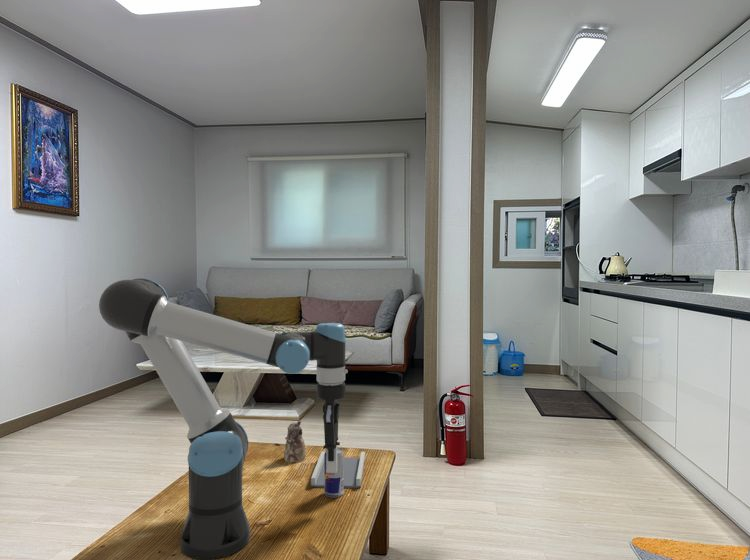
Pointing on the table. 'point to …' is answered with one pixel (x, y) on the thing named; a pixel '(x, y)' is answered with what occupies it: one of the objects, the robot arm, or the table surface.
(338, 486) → the energy drink
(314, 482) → the tray
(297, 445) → the figurine
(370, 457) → the table surface
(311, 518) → the table surface
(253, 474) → the table surface
